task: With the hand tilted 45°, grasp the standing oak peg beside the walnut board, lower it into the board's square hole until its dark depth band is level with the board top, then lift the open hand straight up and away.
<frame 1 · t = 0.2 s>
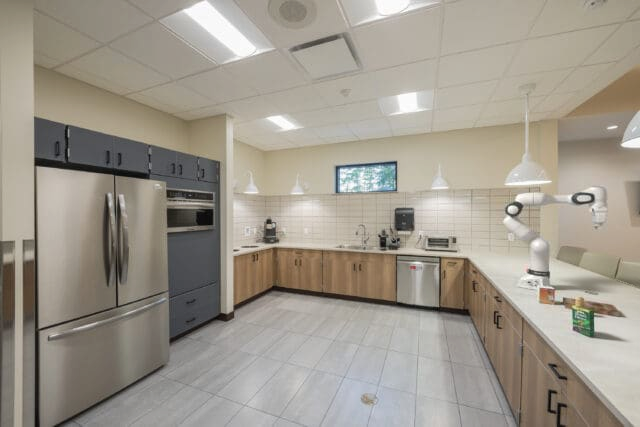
hand: (598, 229, 177), 48 cm above the table, tool pointing down, fingers open, 8 cm apart
walnut board: (588, 309, 155), on the table
small box: (545, 302, 166), on the table
oak peg: (579, 314, 147), on the table
coffee box: (582, 333, 125), on the table
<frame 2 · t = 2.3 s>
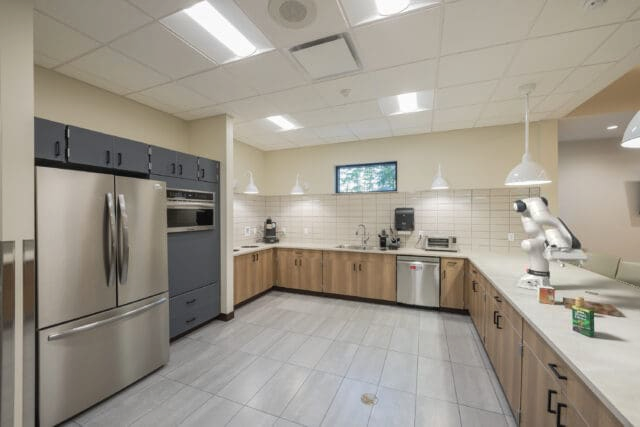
hand: (572, 266, 157), 26 cm above the table, tool tilted 45°, fingers open, 8 cm apart
nothing on the table moved.
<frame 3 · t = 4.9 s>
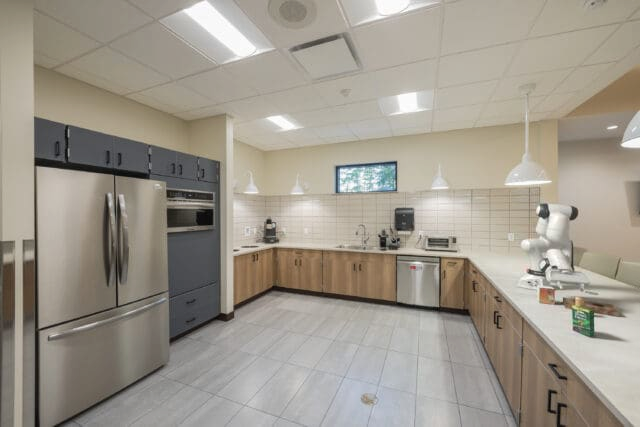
hand: (572, 289, 152), 13 cm above the table, tool tilted 45°, fingers open, 8 cm apart
nothing on the table moved.
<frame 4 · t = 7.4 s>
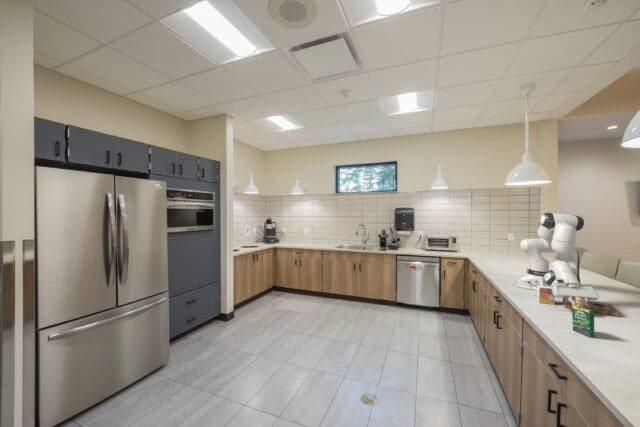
hand: (580, 305, 146), 6 cm above the table, tool tilted 45°, fingers closed on oak peg, 3 cm apart
oak peg: (579, 314, 147), on the table, touching gripper
everything else where it was.
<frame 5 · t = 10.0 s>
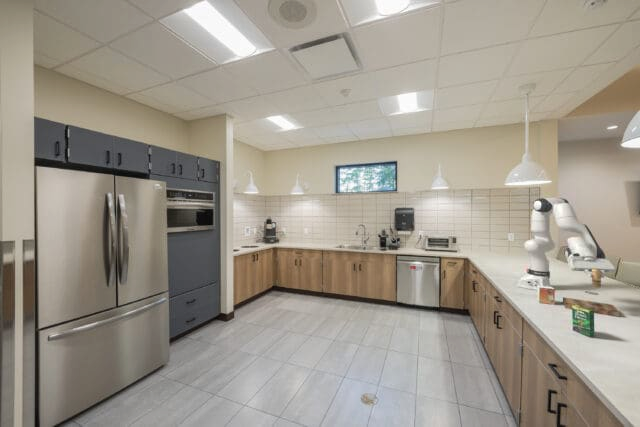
hand: (597, 276, 149), 22 cm above the table, tool tilted 45°, fingers closed on oak peg, 3 cm apart
oak peg: (596, 286, 149), point 16 cm above the table, touching gripper
everything else where it was.
when the fingers open (7 cm above the table, at t = 13.0 s): oak peg drops 1 cm, resting in walnut board.
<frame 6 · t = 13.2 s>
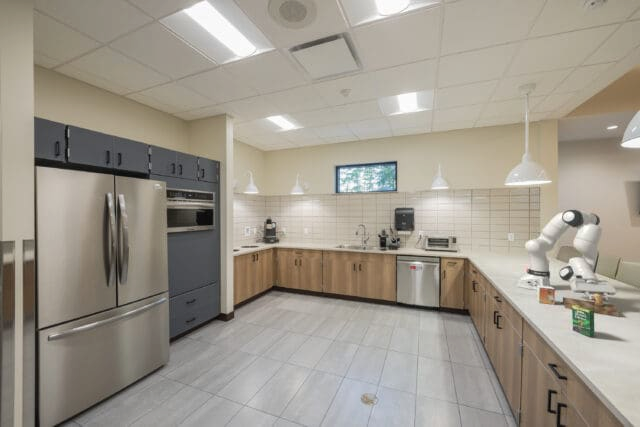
hand: (599, 299, 152), 7 cm above the table, tool tilted 45°, fingers open, 5 cm apart
oak peg: (598, 310, 152), resting in walnut board
everything else where it was.
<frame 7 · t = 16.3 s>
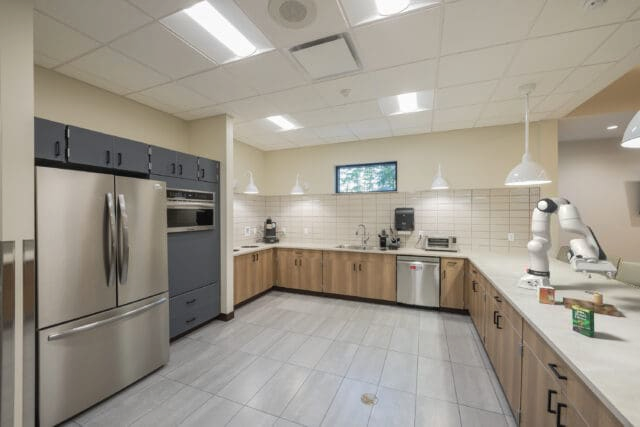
hand: (599, 278, 151), 20 cm above the table, tool tilted 45°, fingers open, 8 cm apart
nothing on the table moved.
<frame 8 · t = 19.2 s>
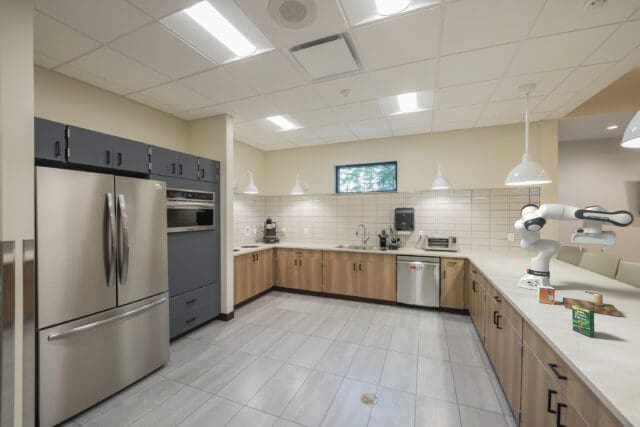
hand: (592, 251, 165), 34 cm above the table, tool pointing down, fingers open, 8 cm apart
nothing on the table moved.
at the end: oak peg 0.1 cm from the target spot on the walnut board, point 0.0 cm above the walnut board's base; oak peg tilted 0°; the gripper is holding nothing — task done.
